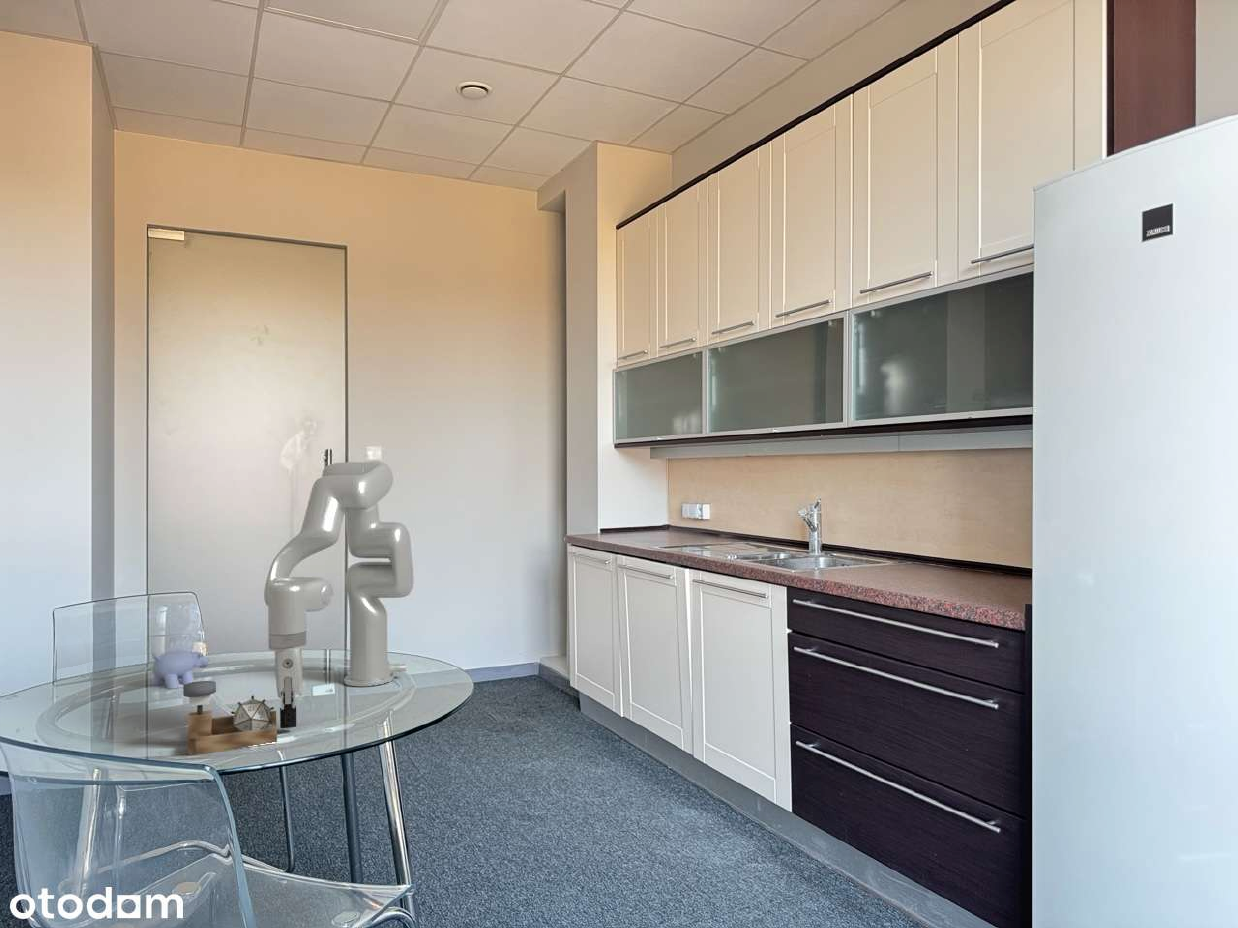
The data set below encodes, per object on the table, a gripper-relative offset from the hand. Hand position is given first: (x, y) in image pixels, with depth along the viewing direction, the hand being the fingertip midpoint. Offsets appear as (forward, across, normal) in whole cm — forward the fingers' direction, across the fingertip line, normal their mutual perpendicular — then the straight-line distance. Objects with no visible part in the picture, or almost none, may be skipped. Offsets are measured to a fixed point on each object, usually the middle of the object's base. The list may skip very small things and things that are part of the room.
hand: (288, 726), depth 175 cm
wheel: (-7, 0, +17) cm, 18 cm away
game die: (+2, 0, +7) cm, 7 cm away
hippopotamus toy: (+2, +58, +26) cm, 64 cm away
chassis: (+1, 0, +10) cm, 10 cm away
